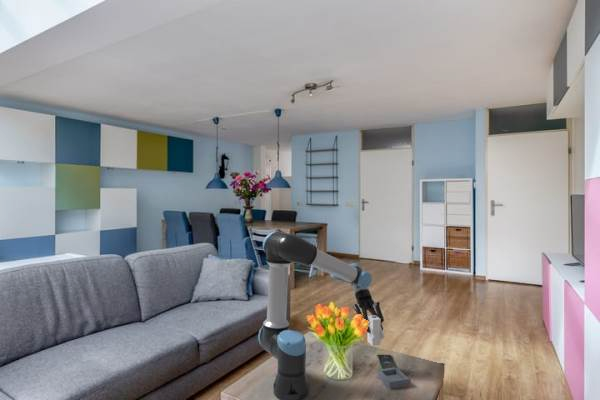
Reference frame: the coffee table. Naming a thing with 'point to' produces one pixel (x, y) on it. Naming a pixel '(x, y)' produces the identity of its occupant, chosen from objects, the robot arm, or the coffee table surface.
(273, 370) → the coffee table surface
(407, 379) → the charging cradle
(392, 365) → the smartphone
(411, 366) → the coffee table surface
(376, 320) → the charger
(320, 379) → the coffee table surface
